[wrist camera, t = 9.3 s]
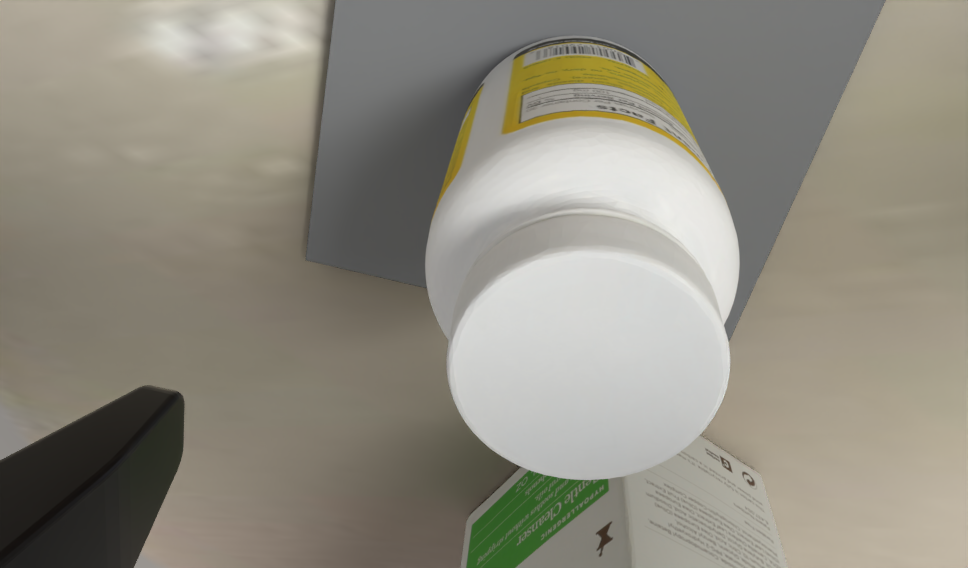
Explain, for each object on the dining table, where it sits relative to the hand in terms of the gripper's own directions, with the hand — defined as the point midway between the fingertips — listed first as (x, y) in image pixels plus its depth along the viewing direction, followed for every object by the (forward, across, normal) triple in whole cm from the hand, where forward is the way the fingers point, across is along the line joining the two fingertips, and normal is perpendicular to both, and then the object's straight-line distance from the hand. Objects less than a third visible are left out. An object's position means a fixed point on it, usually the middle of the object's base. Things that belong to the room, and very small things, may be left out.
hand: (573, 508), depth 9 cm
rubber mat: (+13, 0, 0) cm, 13 cm away
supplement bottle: (+12, 0, 0) cm, 13 cm away
